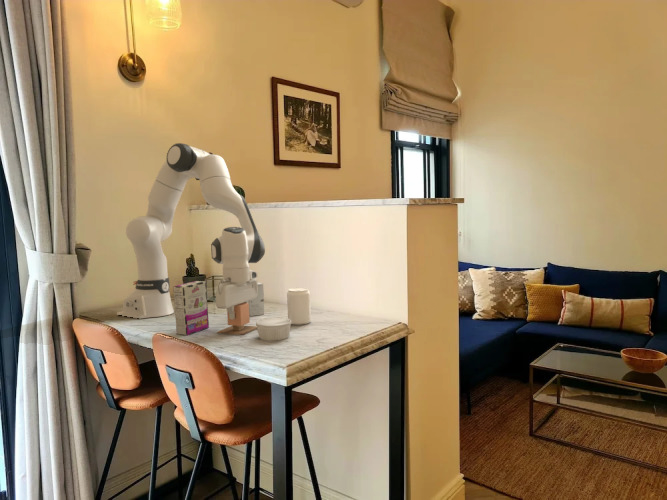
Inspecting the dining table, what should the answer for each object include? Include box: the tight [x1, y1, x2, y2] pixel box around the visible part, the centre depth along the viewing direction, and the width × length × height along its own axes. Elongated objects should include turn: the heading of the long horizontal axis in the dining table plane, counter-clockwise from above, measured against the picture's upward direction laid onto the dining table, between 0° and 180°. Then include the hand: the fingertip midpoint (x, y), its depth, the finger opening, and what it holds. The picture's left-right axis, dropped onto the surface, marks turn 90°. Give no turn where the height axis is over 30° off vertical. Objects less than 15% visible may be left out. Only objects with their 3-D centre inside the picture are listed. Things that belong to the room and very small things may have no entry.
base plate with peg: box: [216, 325, 258, 336], centre depth 172 cm, size 10×10×6 cm
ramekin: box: [255, 316, 292, 342], centre depth 162 cm, size 11×11×5 cm
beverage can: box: [286, 287, 312, 326], centre depth 181 cm, size 8×8×12 cm
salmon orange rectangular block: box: [226, 303, 250, 326], centre depth 172 cm, size 5×5×7 cm
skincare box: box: [249, 281, 265, 317], centre depth 197 cm, size 6×4×12 cm
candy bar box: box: [172, 280, 210, 336], centre depth 173 cm, size 11×5×16 cm, turn 153°
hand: (238, 316), depth 172 cm, fingers closed on salmon orange rectangular block, 5 cm apart
